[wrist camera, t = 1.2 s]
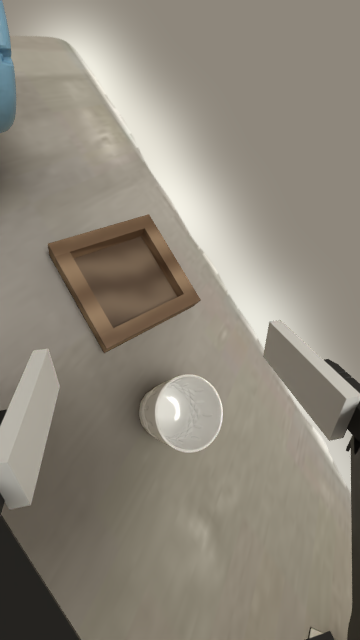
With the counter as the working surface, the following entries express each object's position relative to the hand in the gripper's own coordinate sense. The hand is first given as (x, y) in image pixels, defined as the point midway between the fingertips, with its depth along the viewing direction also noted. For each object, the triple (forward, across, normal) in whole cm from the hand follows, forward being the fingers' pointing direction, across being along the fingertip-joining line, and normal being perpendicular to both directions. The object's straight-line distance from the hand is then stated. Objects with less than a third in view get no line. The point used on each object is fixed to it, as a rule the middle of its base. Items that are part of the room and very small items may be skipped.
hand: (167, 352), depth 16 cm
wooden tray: (+27, -2, -6) cm, 27 cm away
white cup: (+13, +1, -20) cm, 24 cm away
